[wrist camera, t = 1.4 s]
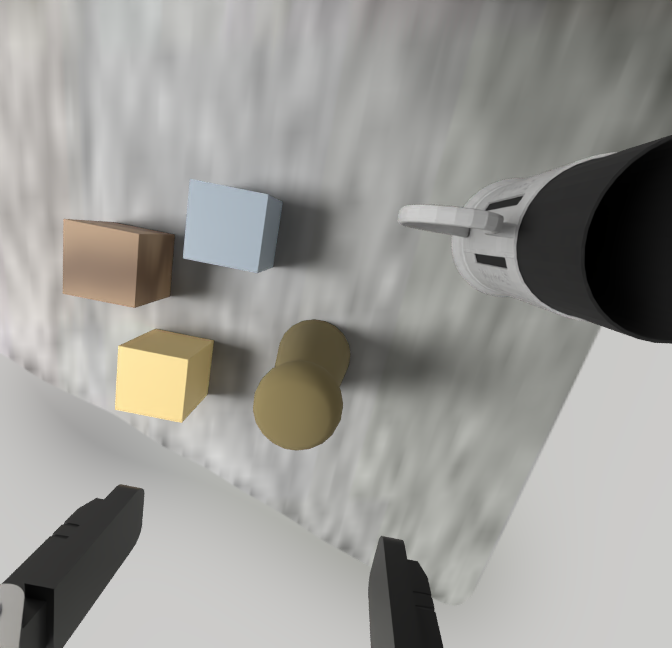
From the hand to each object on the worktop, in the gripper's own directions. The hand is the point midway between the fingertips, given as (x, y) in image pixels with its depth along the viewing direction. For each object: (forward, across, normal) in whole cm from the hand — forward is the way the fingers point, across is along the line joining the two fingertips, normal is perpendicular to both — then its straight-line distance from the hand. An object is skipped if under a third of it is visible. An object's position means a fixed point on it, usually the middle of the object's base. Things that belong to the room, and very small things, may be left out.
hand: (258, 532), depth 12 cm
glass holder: (+19, -10, -12) cm, 25 cm away
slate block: (+19, +7, -9) cm, 22 cm away
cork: (+19, 0, 0) cm, 19 cm away
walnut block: (+19, +15, -5) cm, 25 cm away
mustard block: (+19, +11, +3) cm, 22 cm away
